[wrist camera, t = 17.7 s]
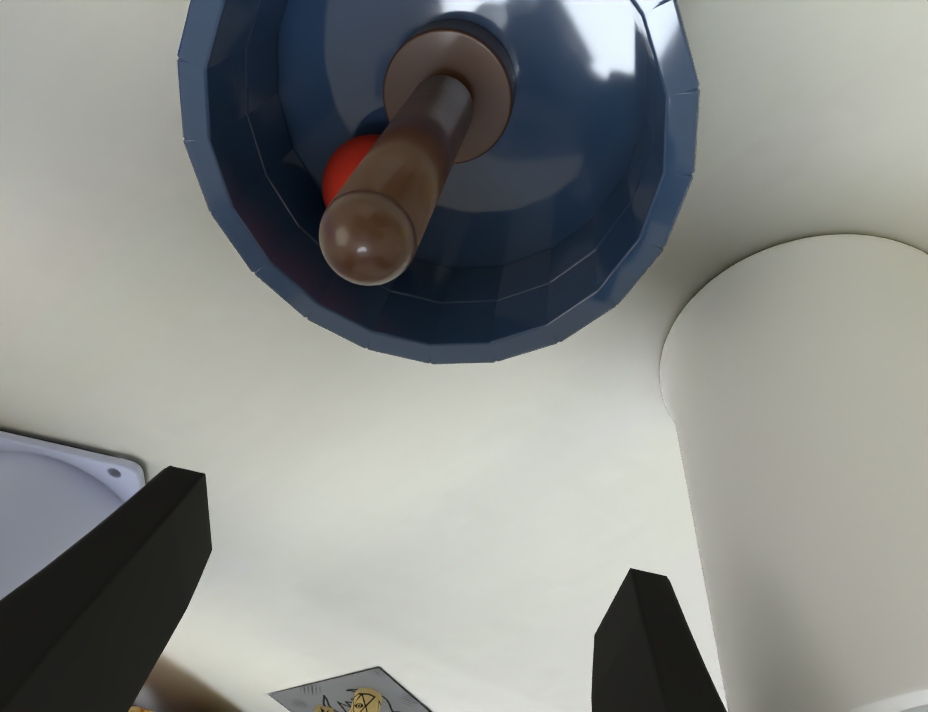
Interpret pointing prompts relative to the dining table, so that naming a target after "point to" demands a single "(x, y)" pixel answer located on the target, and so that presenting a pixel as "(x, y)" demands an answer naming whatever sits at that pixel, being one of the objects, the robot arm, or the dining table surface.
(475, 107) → the flanged brown rod
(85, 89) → the dining table surface
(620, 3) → the bowl
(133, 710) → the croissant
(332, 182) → the ball
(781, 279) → the mug
